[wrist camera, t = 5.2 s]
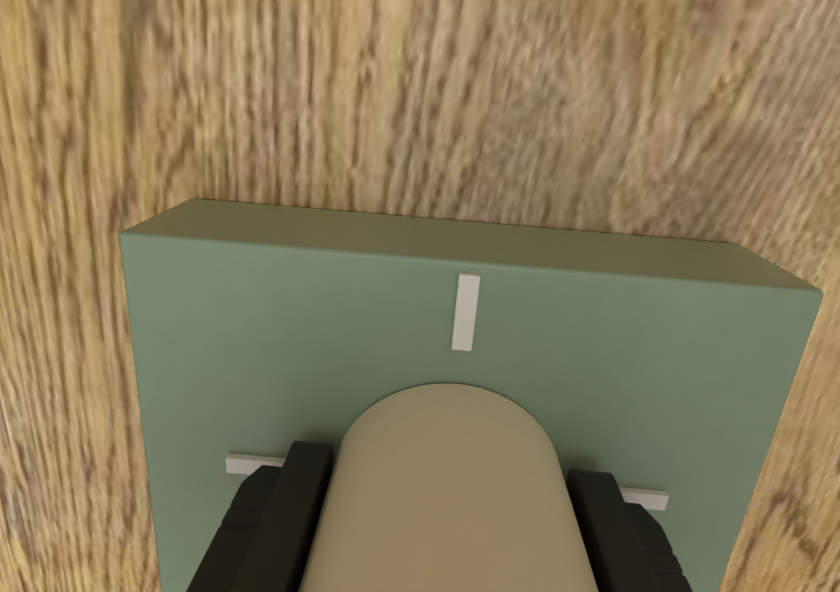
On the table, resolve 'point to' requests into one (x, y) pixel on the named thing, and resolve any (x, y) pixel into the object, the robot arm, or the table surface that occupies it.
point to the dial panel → (456, 353)
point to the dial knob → (447, 501)
